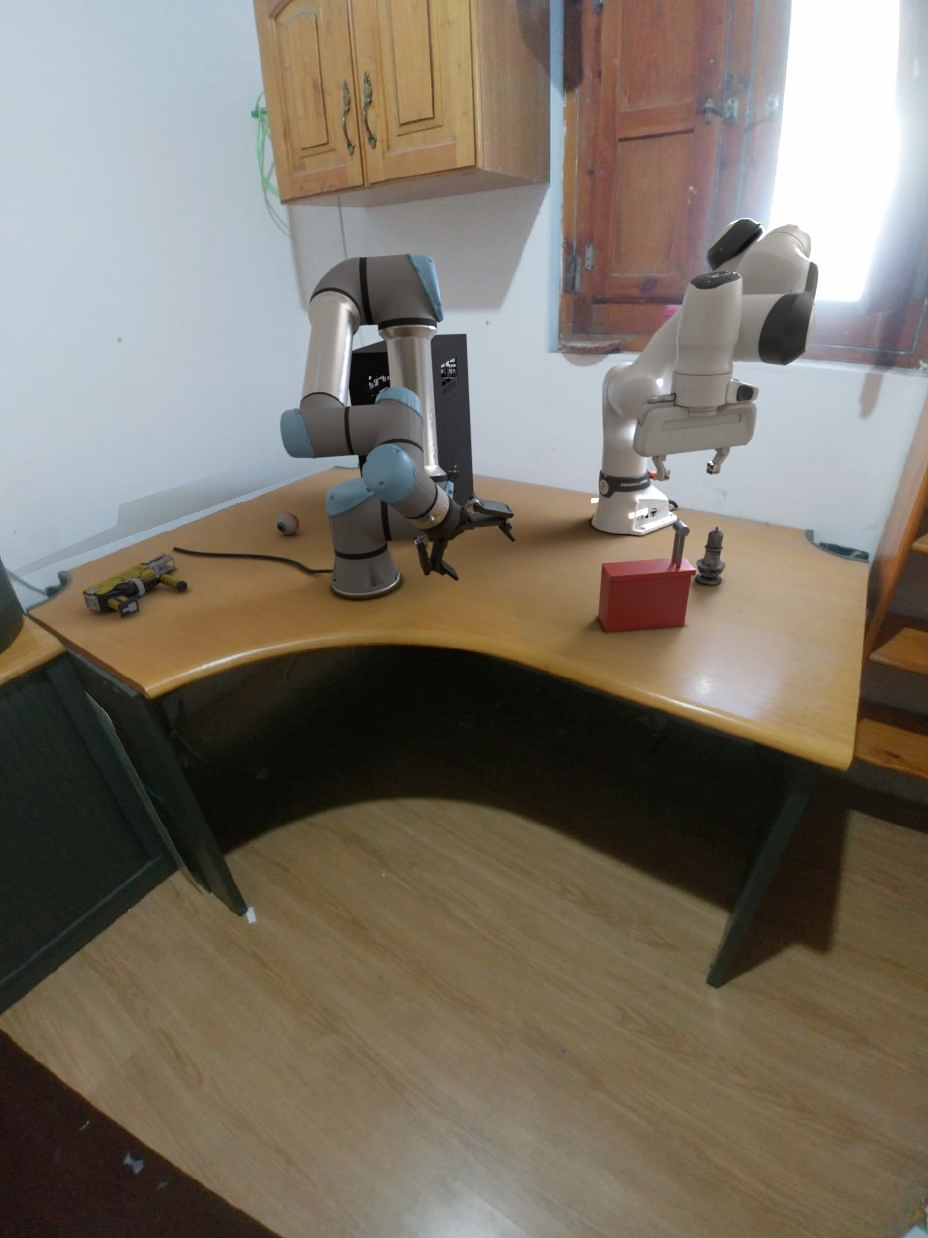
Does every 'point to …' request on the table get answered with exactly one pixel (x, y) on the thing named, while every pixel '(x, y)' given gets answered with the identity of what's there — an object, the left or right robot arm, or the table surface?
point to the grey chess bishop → (711, 560)
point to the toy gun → (131, 586)
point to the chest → (643, 603)
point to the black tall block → (447, 402)
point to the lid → (654, 563)
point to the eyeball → (287, 523)
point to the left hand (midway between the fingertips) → (483, 556)
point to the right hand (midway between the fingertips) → (687, 476)
